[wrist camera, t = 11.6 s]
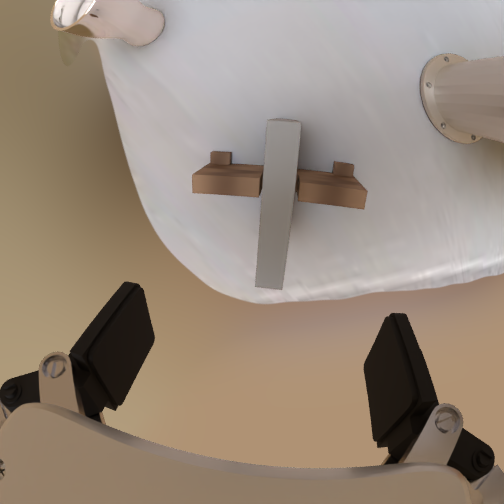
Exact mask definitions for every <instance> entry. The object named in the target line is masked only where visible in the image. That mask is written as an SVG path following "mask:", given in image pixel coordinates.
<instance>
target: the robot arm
mask: <svg viewBox="0 0 504 504" xmlns="http://www.w3.org/2000/svg"><path fill="white" fill-rule="evenodd" d="M426 84H427V86H426ZM420 88H421V97H422V101H423V105H424V107H425V110H426V113H427V115H428V116H429V118H430V120H431V122H432V123H433V124H434V126H435V127H436V128H437V129H438V130H439V131H440V132H441V134H443V135H444V136H446V137H447V138H448V139H450V140H453V141H455V142H458V143H463V144H470V143H474V142H477V141H479V140H480V139H481V138H483V137H484V138H488V139H492V140H495V141H499V142H502V143H504V56H501V57H492V58H485V59H478V60H471V61H468V60H466V59H465V58H463V57H461V56H458V55H456V54H449V53H448V54H441V55H438V56H435V57H434V58H432V59H431V60H430V61H429V62H428V63H427V64H426V66H425V68H424V70H423V72H422V76H421V84H420ZM154 339H155V336H154V332H153V327H152V324H151V320H150V316H149V312H148V307H147V303H146V298H145V294H144V290H143V288H141V287H140V285H139V284H137V283H132V282H124V283H123V284H122V285H121V287H120V288H119V289H118V290H117V291H116V292H115V294H114V295H113V296H112V297H111V298H110V300H109V301H108V302H107V303H106V305H105V306H104V307H103V308H102V310H101V311H100V312H99V313H98V315H97V316H96V317H95V318H94V320H93V321H92V322H91V324H90V325H89V326H88V327H87V329H86V330H85V331H84V333H83V334H82V335H81V337H80V338H79V340H78V341H77V342H76V343H75V345H74V346H73V347H72V349H71V350H70V352H71V353H70V354H69V355H67V354H65V353H63V352H53V353H50V354H48V355H47V356H46V357H44V358H43V360H42V361H41V363H40V365H39V370H38V371H35V372H32V373H28V374H25V375H22V376H18V377H15V378H12V379H9V380H7V381H6V382H5V383H4V384H3V385H2V387H1V389H0V504H504V473H503V472H502V470H501V469H500V468H499V466H498V465H496V466H494V459H495V456H494V452H493V450H492V448H491V447H490V446H489V445H487V444H485V443H484V442H483V441H481V440H480V439H478V438H477V437H475V436H474V435H472V434H471V433H469V432H468V431H466V430H465V429H464V428H462V427H463V417H462V415H461V412H460V411H459V410H458V409H457V408H456V407H455V406H453V405H451V404H445V403H444V404H440V405H439V403H438V400H437V396H436V392H435V389H434V386H433V383H432V380H431V377H430V374H429V371H428V368H427V365H426V362H425V359H424V357H423V354H422V351H421V349H420V348H419V345H418V343H417V340H416V337H415V335H414V333H413V330H412V327H411V325H410V322H409V320H408V317H407V315H406V314H403V313H391V314H390V315H389V317H386V318H385V320H384V322H383V324H382V326H381V329H380V331H379V333H378V335H377V338H376V340H375V342H374V344H373V346H372V348H371V350H370V352H369V355H368V356H367V359H366V361H365V363H364V374H365V380H366V387H367V394H368V400H369V408H370V416H371V425H372V434H373V439H374V441H377V447H378V448H381V447H388V453H389V455H388V456H387V457H386V458H385V460H384V461H383V463H382V464H381V465H379V466H368V467H352V468H319V469H318V468H289V467H274V466H265V465H255V464H247V463H240V462H234V461H228V460H222V459H217V458H212V457H207V456H202V455H198V454H194V453H189V452H186V451H182V450H177V449H174V448H170V447H166V446H163V445H160V444H157V443H154V442H150V441H148V440H145V439H141V438H139V437H136V436H133V435H130V434H128V433H125V432H122V431H120V430H117V429H114V428H112V427H109V426H107V425H106V423H105V420H104V417H103V413H102V411H103V409H104V407H107V408H110V409H112V410H115V411H116V409H117V407H118V405H119V406H120V405H122V404H123V402H124V400H125V398H126V396H127V394H128V392H129V390H130V388H131V386H132V384H133V382H134V380H135V378H136V376H137V374H138V372H139V370H140V368H141V366H142V364H143V363H144V361H145V359H146V357H147V355H148V353H149V351H150V349H151V347H152V346H153V343H154Z"/></svg>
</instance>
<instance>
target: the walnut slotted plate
mask: <svg viewBox="0 0 504 504" xmlns="http://www.w3.org/2000/svg"><path fill="white" fill-rule="evenodd" d="M231 153H232V152H217V151H213V152H211V163H209V164H208V165H206V166H205V167H203V168H202V169H200V170H199V171H197V172H195V173H194V174H193V175H192V190H193V193H203V194H219V195H234V196H247V197H259V195H260V192H261V190H262V185H263V171H264V166H261V165H247V164H231ZM353 171H354V165H353V164H349V163H342V162H335V161H334V165H333V173H329V172H321V171H313V170H304V169H297V174H296V184H295V192H297V195H298V201H301V202H310V203H318V204H327V205H335V206H342V207H350V208H357V209H364V207H365V202H366V196H367V190H366V189H365V188H364V187H363V186H362V185H361V184H360V183H359V182H358V180H357V179H356V178H355V177H354V176H353Z"/></svg>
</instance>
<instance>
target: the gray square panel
mask: <svg viewBox="0 0 504 504" xmlns="http://www.w3.org/2000/svg"><path fill="white" fill-rule="evenodd" d="M300 133H301V123H300V122H298V121H297V120H288V119H277V118H276V119H270V120H267V127H266V142H265V157H264V171H263V185H262V200H261V214H260V227H259V241H258V255H257V268H256V281H255V287H261V288H269V289H278V290H282V287H283V280H284V273H285V266H286V259H287V251H288V243H289V235H290V227H291V219H292V211H293V202H294V193H295V184H296V174H297V165H298V154H299V144H300Z"/></svg>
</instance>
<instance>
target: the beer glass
mask: <svg viewBox="0 0 504 504" xmlns="http://www.w3.org/2000/svg"><path fill="white" fill-rule="evenodd" d="M51 24H52V26H53V28H54V29H56V30H59V31H64V32H67V33H71V34H74V35H78V36H82V37H89V38H101V39H102V38H117V39H123V40H125V41H126V42H127V43H129V44H131V45H133V46H144V45H147V44H149V43H151V42H152V41H154V40H155V39H156V38H157V37H158V36H159V35H160V33H161V32H162V30H163V27H164V16H163V15H162V13H161V12H160V11H158V10H156V9H153V8H148V7H146V6H144V5H143V4H142V3H141V2H140V1H139V0H56V1H55V3H54V6H53V8H52V12H51Z"/></svg>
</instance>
